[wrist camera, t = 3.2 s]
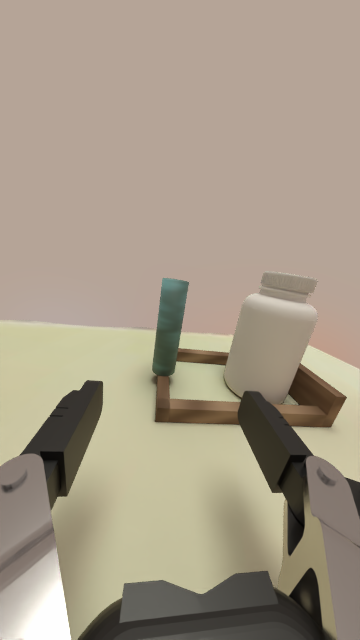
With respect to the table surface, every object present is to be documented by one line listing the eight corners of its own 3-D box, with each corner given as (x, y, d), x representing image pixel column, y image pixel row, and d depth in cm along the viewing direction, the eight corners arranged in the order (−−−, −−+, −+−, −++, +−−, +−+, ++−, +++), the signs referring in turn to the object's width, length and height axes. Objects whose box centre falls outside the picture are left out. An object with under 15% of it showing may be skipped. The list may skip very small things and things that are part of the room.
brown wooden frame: (146, 421, 16) (162, 285, 12) (153, 355, 27) (162, 274, 24) (330, 427, 19) (389, 317, 15) (266, 364, 30) (290, 293, 26)
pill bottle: (294, 395, 23) (342, 282, 19) (265, 420, 18) (320, 276, 14) (243, 364, 29) (270, 273, 25) (211, 377, 24) (237, 266, 20)
